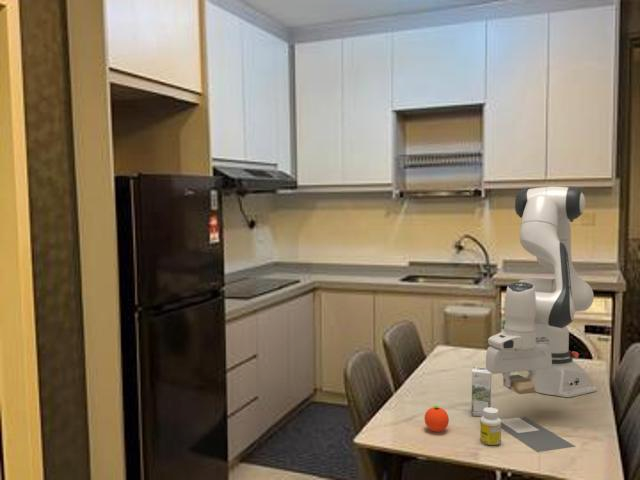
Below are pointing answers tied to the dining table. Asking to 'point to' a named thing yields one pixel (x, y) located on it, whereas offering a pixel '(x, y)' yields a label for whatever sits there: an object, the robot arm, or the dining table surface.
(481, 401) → the syrup box
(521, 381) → the shiny reflective rectangular block
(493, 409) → the supplement bottle
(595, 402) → the dining table surface
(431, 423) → the clementine
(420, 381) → the dining table surface
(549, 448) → the mat
